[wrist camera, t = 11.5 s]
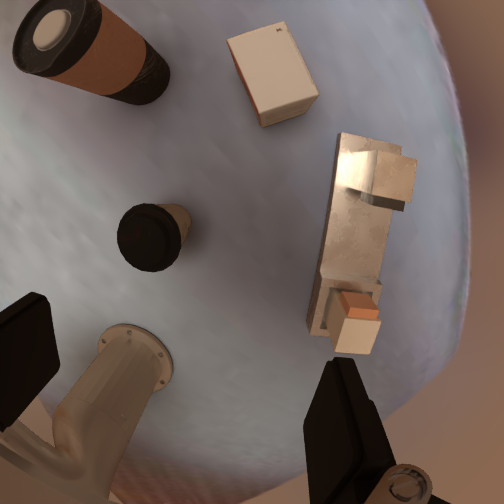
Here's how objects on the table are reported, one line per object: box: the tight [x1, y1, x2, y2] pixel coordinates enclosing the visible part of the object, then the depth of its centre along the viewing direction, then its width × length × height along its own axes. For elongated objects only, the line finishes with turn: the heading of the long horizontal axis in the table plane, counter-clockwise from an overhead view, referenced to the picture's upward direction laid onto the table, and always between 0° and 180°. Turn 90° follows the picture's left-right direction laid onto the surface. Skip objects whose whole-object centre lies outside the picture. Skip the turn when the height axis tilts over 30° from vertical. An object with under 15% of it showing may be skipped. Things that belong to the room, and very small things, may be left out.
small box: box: [226, 21, 319, 128], centre depth 27 cm, size 8×6×10 cm
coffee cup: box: [117, 203, 191, 272], centre depth 32 cm, size 7×7×10 cm
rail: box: [306, 133, 417, 337], centre depth 31 cm, size 24×8×10 cm, turn 173°
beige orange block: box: [324, 287, 381, 354], centre depth 33 cm, size 5×4×8 cm
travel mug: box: [12, 0, 170, 105], centre depth 22 cm, size 8×8×20 cm
